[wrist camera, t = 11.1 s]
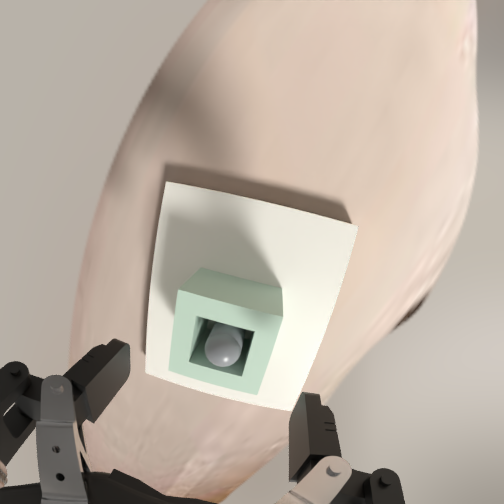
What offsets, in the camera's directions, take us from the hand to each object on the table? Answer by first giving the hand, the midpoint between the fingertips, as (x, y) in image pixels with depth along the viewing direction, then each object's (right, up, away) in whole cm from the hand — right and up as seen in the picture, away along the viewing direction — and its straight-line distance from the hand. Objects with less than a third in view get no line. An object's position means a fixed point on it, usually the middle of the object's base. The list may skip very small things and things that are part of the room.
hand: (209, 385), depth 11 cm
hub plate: (+1, +2, +9) cm, 10 cm away
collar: (+1, +2, +8) cm, 8 cm away
